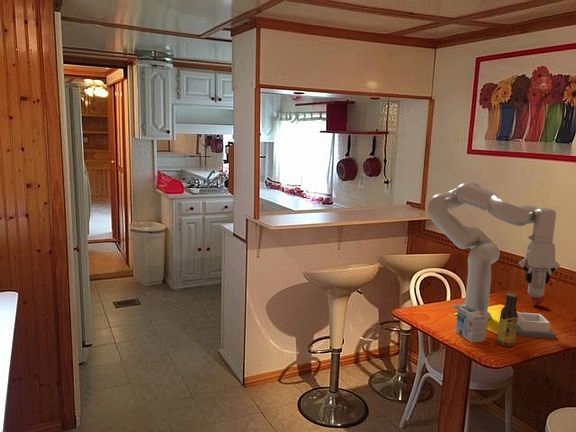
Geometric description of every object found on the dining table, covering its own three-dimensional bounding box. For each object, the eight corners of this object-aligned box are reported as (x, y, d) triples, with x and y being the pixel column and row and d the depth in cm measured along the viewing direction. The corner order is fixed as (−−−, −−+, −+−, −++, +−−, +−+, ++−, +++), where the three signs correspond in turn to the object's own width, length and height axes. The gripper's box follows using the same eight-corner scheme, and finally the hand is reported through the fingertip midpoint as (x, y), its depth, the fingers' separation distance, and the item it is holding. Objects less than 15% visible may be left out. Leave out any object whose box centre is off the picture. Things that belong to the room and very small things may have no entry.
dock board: (519, 335, 202) (520, 322, 201) (507, 322, 215) (509, 310, 214) (555, 338, 200) (557, 325, 199) (542, 324, 214) (543, 312, 213)
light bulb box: (455, 331, 204) (457, 306, 202) (469, 330, 206) (471, 305, 204) (471, 343, 194) (474, 316, 192) (486, 341, 196) (488, 315, 194)
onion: (526, 303, 240) (528, 287, 238) (539, 303, 240) (541, 287, 238) (532, 307, 234) (534, 291, 233) (544, 308, 234) (546, 291, 232)
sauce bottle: (505, 348, 190) (511, 298, 186) (492, 342, 195) (498, 293, 192) (518, 346, 192) (524, 296, 189) (505, 339, 198) (511, 291, 194)
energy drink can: (541, 293, 207) (545, 258, 205) (545, 298, 202) (550, 262, 199) (525, 292, 208) (529, 257, 206) (529, 297, 203) (533, 261, 200)
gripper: (523, 240, 198) (518, 284, 201) (569, 242, 196) (563, 286, 199) (516, 236, 205) (511, 278, 209) (560, 238, 204) (555, 281, 207)
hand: (537, 282), depth 204 cm, fingers closed on energy drink can, 6 cm apart
